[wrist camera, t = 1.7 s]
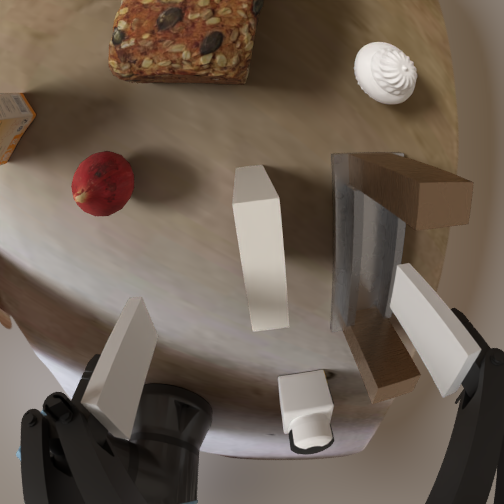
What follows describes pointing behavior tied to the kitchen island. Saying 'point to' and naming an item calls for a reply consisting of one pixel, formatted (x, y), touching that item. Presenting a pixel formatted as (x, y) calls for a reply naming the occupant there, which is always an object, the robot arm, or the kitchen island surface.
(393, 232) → the wood and metal rack
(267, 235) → the door panel
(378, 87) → the white rounded ridged piece
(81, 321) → the kitchen island surface
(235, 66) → the bread
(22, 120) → the supplement box
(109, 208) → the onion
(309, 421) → the medicine bottle
